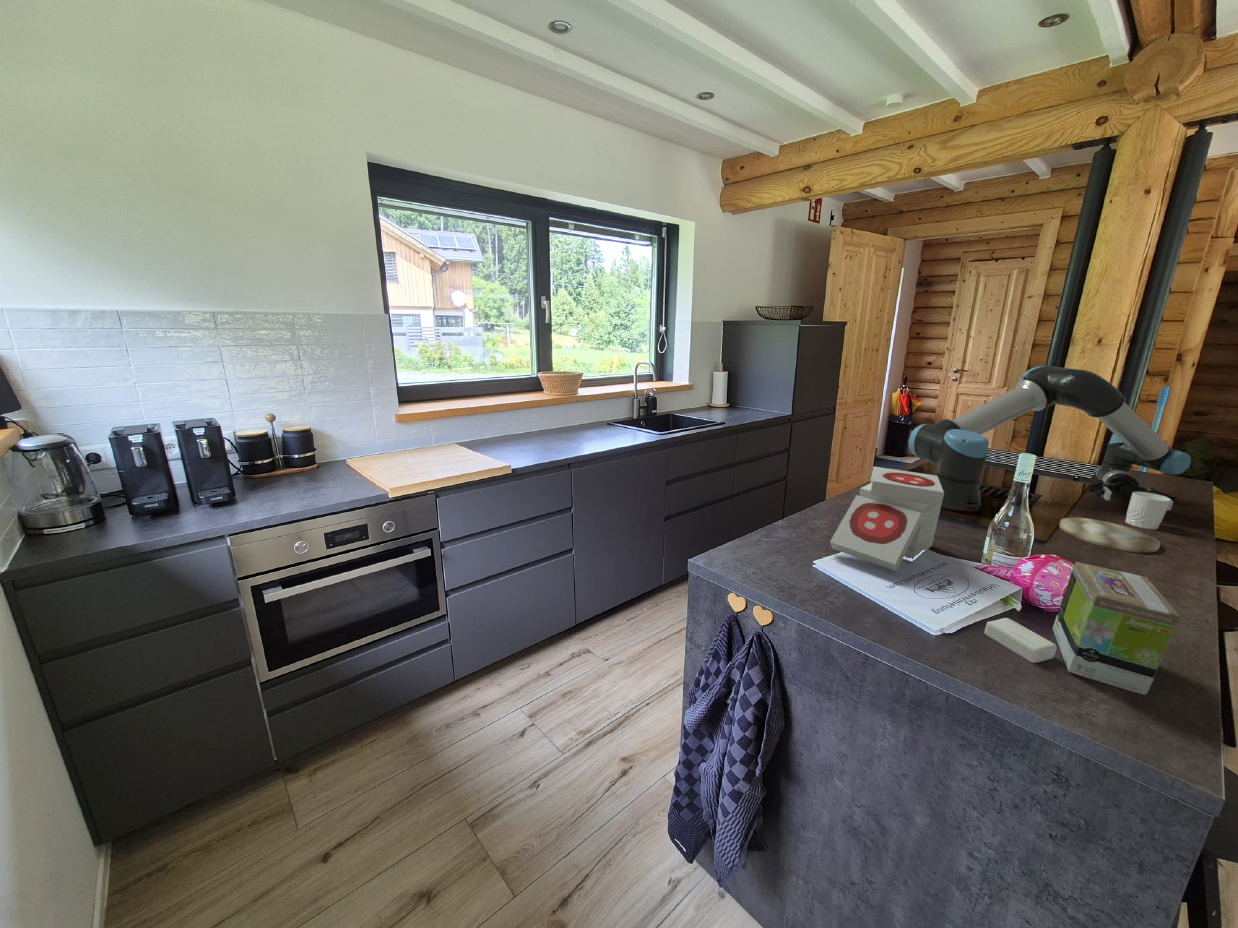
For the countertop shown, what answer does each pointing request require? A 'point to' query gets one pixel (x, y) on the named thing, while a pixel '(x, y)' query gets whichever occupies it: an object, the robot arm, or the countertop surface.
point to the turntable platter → (1109, 535)
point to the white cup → (1146, 510)
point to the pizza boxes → (891, 517)
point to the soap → (1020, 640)
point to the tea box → (1113, 627)
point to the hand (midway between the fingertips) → (1138, 501)
